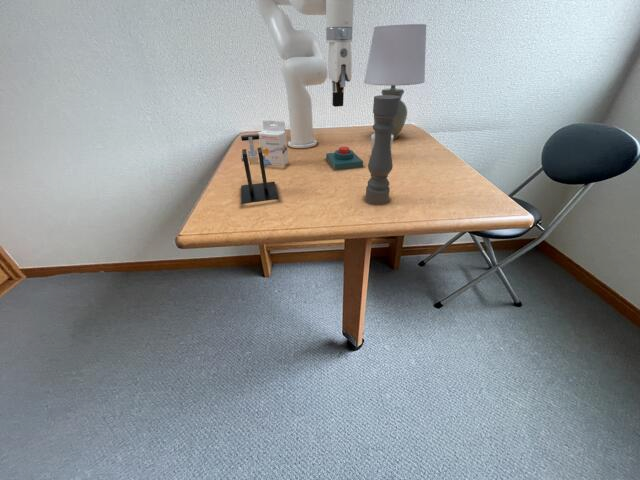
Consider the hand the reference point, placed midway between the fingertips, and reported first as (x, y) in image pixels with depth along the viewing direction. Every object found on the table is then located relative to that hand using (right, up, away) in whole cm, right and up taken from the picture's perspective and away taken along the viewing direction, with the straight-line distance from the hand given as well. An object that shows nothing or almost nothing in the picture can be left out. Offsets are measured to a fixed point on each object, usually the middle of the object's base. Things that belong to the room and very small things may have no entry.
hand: (337, 105), depth 90 cm
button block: (+3, -16, +9) cm, 19 cm away
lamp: (+25, +3, +35) cm, 43 cm away
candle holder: (+10, -33, -15) cm, 37 cm away
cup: (+16, -14, +12) cm, 25 cm away
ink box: (-22, -17, +9) cm, 29 cm away
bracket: (-23, -31, -11) cm, 40 cm away
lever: (-25, -19, -13) cm, 34 cm away
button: (+3, -13, +7) cm, 15 cm away
